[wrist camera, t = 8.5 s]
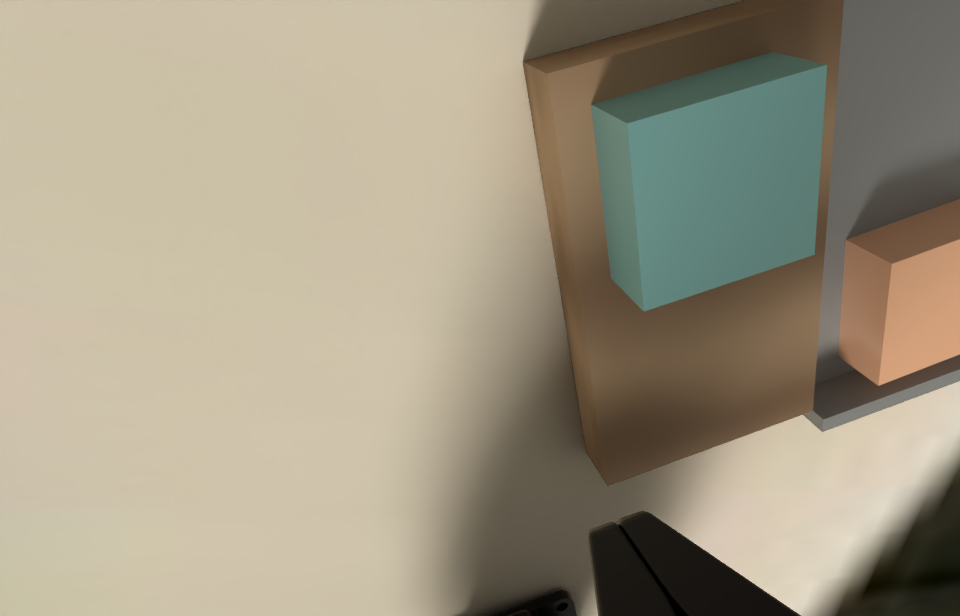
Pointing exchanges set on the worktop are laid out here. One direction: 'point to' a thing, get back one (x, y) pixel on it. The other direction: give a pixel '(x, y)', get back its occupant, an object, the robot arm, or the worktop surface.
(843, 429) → the worktop surface
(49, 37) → the worktop surface
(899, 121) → the grey tray
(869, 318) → the terracotta tile
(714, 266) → the teal tile
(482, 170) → the worktop surface
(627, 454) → the walnut step
